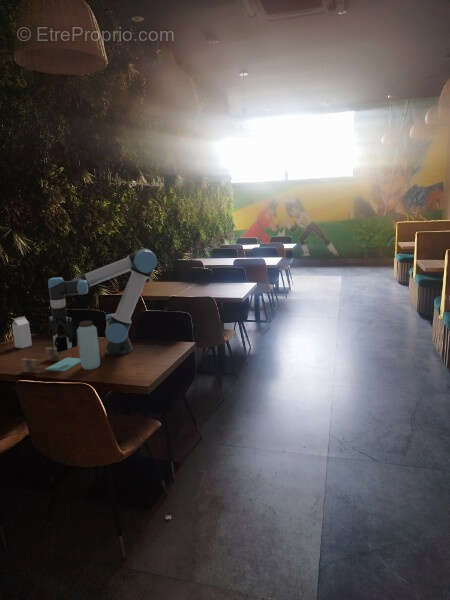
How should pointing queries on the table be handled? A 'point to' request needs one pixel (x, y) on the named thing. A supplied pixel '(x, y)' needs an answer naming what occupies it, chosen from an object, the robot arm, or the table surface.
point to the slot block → (32, 364)
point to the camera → (64, 343)
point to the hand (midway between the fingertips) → (63, 347)
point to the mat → (64, 364)
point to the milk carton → (21, 332)
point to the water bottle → (88, 345)
